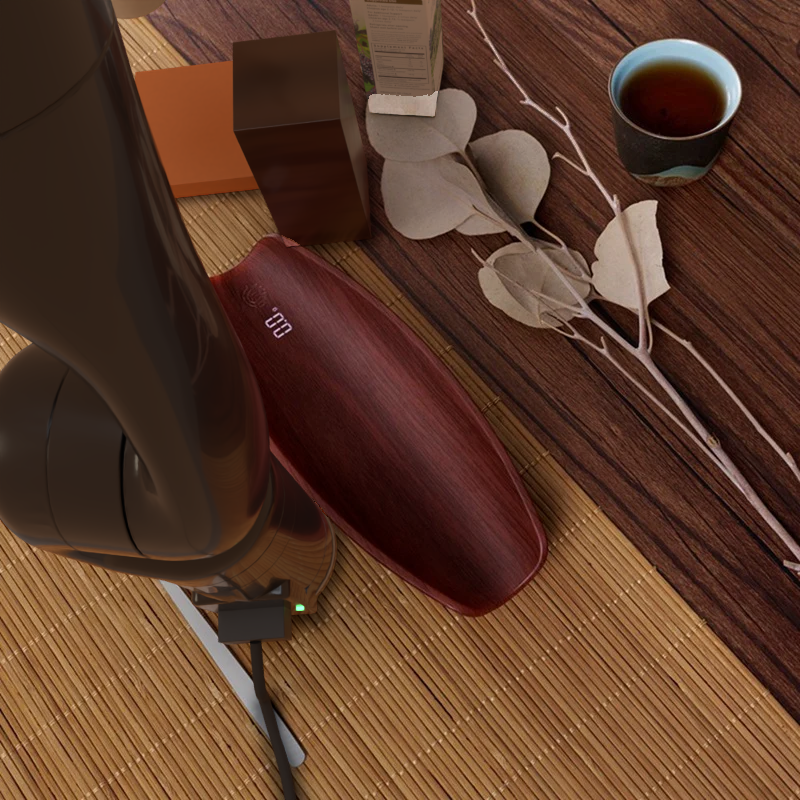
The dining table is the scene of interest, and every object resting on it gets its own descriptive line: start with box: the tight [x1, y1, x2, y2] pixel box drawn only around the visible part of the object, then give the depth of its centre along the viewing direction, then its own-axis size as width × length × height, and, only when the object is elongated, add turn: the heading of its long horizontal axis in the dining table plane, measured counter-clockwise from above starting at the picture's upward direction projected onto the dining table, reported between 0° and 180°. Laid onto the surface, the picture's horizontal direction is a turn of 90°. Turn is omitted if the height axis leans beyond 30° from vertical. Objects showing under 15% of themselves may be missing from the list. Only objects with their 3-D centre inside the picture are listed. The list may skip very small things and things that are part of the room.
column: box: [232, 29, 372, 247], centre depth 68 cm, size 7×7×16 cm
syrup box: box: [348, 0, 445, 103], centre depth 71 cm, size 6×6×14 cm
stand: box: [134, 60, 260, 199], centre depth 78 cm, size 12×12×2 cm
